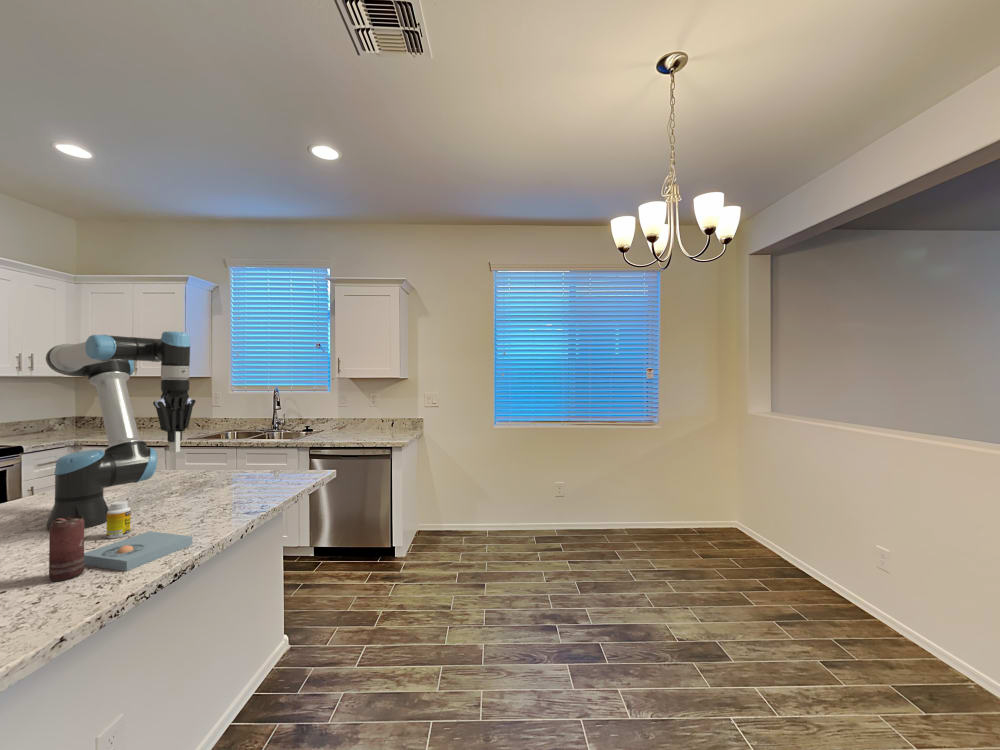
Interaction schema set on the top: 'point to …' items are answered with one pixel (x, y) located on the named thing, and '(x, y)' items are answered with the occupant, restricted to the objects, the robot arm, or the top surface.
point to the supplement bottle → (118, 520)
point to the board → (137, 550)
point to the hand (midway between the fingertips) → (174, 451)
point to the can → (66, 548)
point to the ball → (125, 549)
